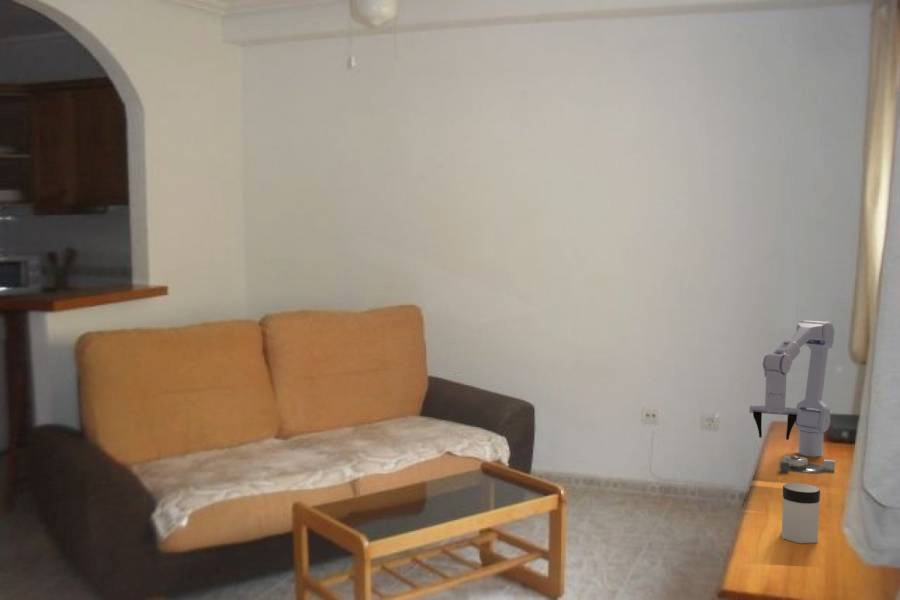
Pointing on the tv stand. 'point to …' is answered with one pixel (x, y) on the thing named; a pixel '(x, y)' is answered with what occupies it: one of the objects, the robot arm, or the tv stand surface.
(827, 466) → the turntable
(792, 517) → the jar
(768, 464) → the tv stand surface
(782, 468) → the stacked blocks
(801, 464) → the cover
